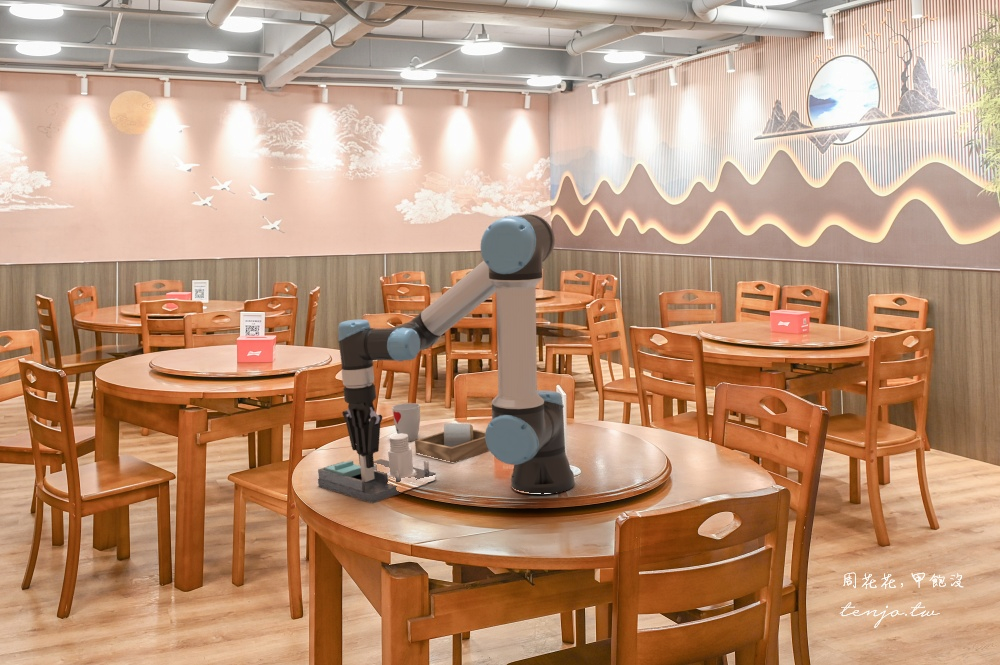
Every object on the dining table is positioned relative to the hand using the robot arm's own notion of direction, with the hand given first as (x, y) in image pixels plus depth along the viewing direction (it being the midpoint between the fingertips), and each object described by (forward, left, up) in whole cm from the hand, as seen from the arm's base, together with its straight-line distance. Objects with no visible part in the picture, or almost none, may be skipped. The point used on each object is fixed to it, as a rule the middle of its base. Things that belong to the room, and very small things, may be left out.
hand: (368, 479), depth 219 cm
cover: (+9, 0, 0) cm, 9 cm away
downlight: (-1, -10, -1) cm, 10 cm away
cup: (+30, -38, -4) cm, 48 cm away
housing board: (+4, -6, -3) cm, 8 cm away
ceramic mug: (+10, -39, -4) cm, 40 cm away
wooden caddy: (+8, -37, -3) cm, 38 cm away
